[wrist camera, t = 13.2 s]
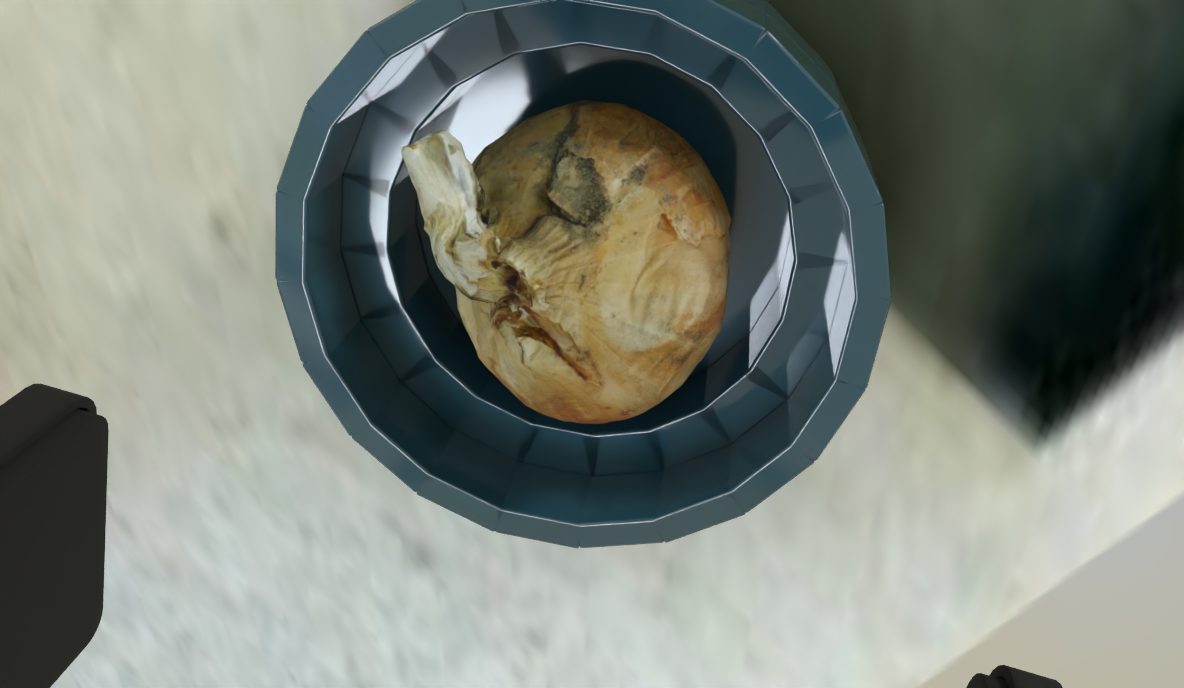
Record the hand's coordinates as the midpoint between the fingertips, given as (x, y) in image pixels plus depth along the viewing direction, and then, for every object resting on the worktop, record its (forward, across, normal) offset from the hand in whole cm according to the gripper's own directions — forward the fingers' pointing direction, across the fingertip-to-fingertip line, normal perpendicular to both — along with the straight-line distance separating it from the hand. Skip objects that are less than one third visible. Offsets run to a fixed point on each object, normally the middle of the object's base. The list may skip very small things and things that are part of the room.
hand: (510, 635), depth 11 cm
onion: (+20, +2, +2) cm, 20 cm away
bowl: (+20, +2, +2) cm, 20 cm away
